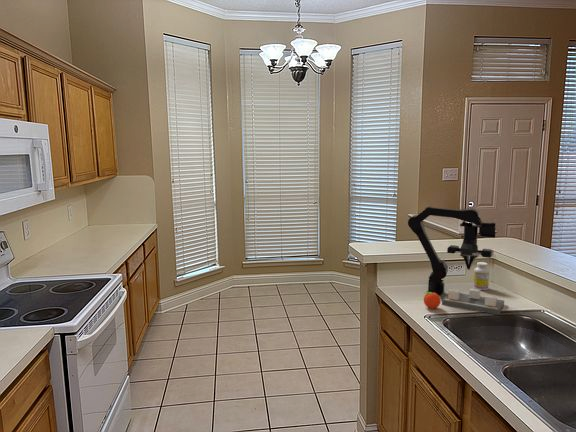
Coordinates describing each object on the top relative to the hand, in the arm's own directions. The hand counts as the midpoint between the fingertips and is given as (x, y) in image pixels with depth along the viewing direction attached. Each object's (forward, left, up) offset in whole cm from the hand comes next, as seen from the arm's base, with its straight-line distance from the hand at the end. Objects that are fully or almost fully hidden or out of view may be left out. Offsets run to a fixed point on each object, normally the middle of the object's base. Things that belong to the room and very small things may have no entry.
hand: (468, 269), depth 200 cm
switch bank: (+4, -10, -13) cm, 17 cm away
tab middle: (+4, -7, -11) cm, 14 cm away
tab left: (-3, -13, -11) cm, 17 cm away
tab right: (+12, -13, -11) cm, 21 cm away
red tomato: (-10, -24, -13) cm, 29 cm away
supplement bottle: (+3, +16, -13) cm, 21 cm away
